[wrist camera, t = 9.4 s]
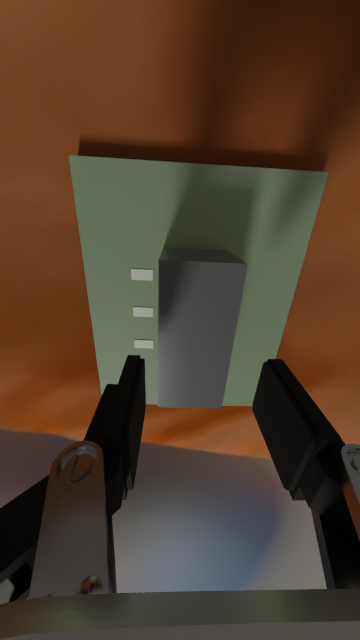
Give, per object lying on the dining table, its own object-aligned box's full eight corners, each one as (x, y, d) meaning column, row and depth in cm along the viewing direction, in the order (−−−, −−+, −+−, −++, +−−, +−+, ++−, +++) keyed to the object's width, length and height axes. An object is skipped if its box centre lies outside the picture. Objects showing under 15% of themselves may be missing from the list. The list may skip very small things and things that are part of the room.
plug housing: (163, 247, 15) (158, 259, 11) (226, 250, 15) (247, 263, 11) (161, 363, 20) (157, 406, 15) (211, 364, 20) (222, 408, 15)
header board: (76, 160, 14) (27, 131, 9) (317, 175, 15) (384, 155, 10) (106, 394, 23) (88, 440, 18) (257, 397, 23) (278, 443, 18)
